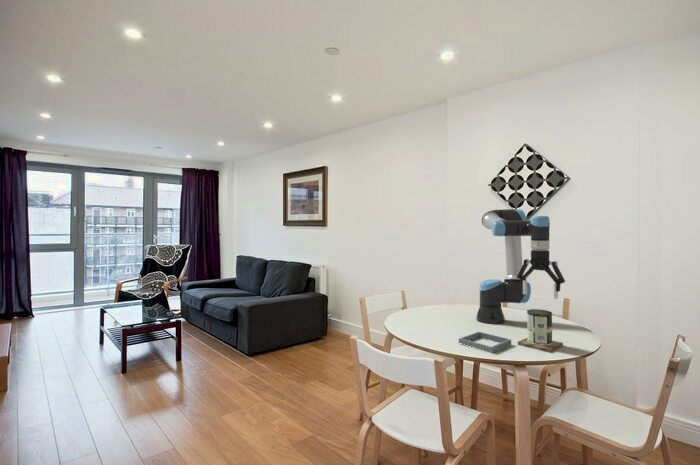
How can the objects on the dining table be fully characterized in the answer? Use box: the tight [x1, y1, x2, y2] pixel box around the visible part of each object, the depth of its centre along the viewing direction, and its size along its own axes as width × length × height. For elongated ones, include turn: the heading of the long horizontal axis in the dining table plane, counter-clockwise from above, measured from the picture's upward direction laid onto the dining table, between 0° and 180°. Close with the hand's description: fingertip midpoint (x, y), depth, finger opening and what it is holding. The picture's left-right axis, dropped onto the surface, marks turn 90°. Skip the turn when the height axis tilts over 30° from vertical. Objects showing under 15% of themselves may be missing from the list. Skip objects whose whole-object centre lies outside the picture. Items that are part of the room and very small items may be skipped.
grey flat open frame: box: [458, 331, 512, 354], centre depth 168 cm, size 17×17×2 cm
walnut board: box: [517, 337, 564, 353], centre depth 166 cm, size 14×14×1 cm
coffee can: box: [526, 308, 553, 346], centre depth 166 cm, size 10×10×14 cm
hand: (539, 296), depth 166 cm, fingers open, 13 cm apart
